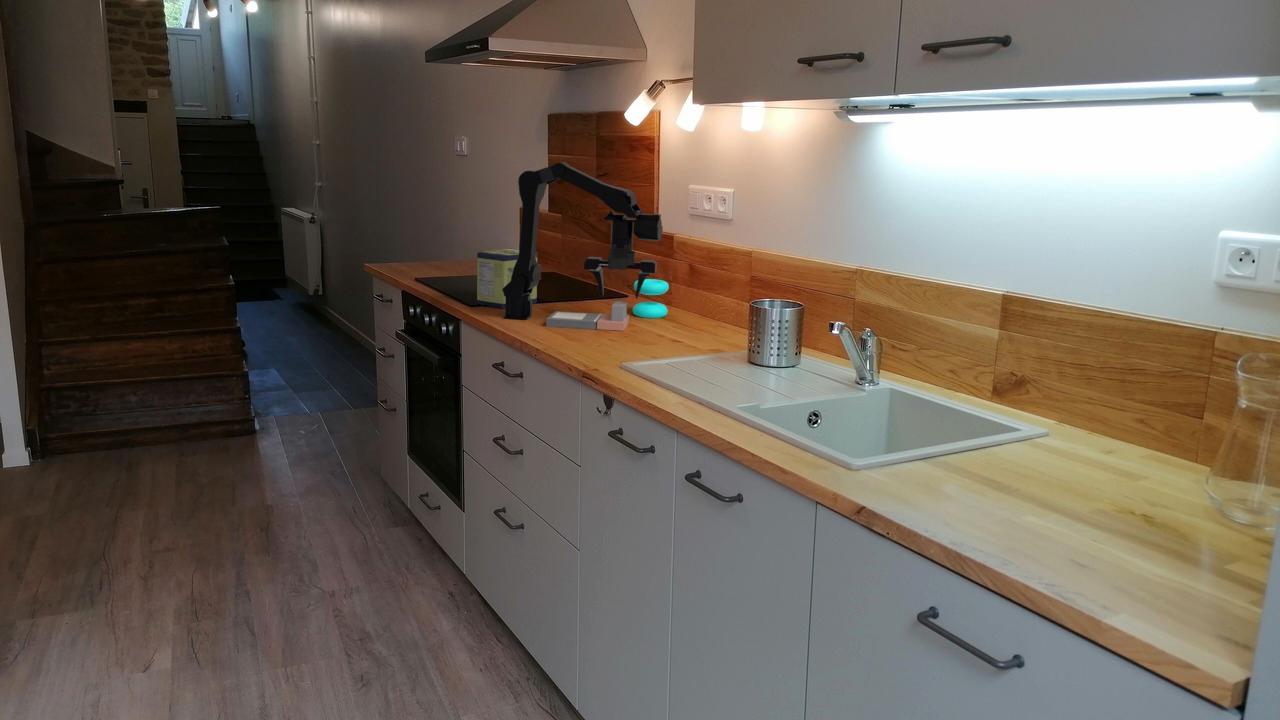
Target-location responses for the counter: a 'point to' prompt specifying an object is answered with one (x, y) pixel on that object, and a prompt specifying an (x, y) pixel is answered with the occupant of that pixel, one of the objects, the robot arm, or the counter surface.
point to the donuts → (651, 307)
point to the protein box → (496, 276)
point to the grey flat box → (573, 320)
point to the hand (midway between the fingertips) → (619, 297)
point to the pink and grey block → (615, 318)
